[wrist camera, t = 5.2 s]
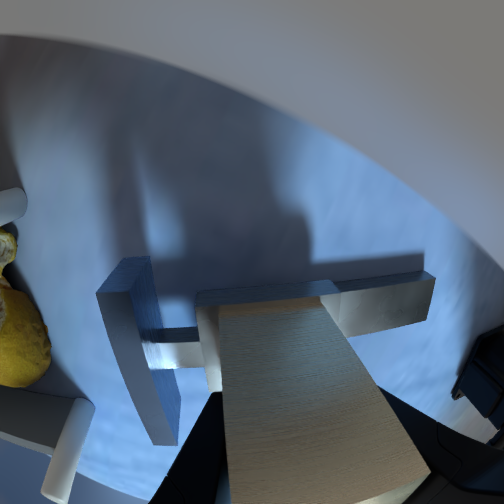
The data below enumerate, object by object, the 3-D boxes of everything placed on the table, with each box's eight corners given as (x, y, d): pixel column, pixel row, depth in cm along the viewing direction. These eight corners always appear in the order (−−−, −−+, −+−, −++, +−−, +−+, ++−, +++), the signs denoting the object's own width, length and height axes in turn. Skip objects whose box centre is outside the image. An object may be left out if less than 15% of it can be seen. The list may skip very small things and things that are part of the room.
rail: (424, 270, 13) (435, 277, 12) (415, 311, 14) (425, 320, 13) (224, 293, 12) (225, 304, 11) (228, 339, 13) (230, 353, 12)
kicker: (331, 241, 10) (501, 395, 3) (318, 382, 13) (382, 530, 5) (124, 257, 10) (-2, 450, 2) (160, 397, 12) (144, 558, 4)
